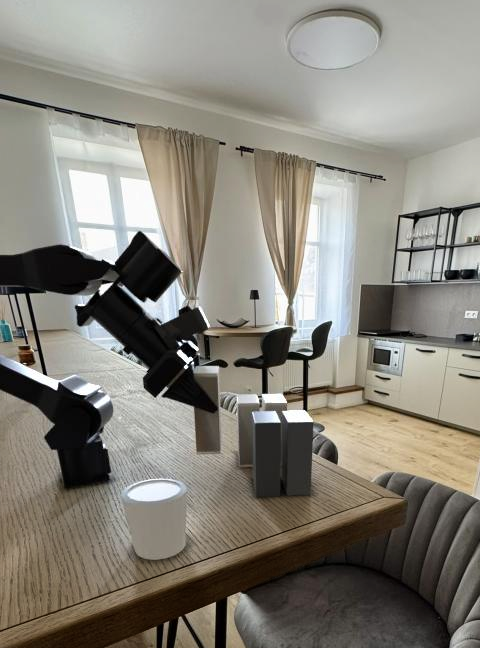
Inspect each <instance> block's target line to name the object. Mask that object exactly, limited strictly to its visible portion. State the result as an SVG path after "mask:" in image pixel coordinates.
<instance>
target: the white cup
mask: <svg viewBox="0 0 480 648" xmlns="http://www.w3.org/2000/svg"><path fill="white" fill-rule="evenodd" d="M187 492H188V490H187V485H186V484H185V483H184V482H182V481H180V480H176V479H173V478H152V479H146V480H142V481H137V482H135V483H133V484H129V485H128V486H127V487H125V488H124V489H122V491H121V494H120V499H121V502H122V507H123V510H124V515H125V518H126V523H127V526H128V531H129V534H130V537H131V538H130V539H131V542H132V545H133V549H134V552H135V554H136V555H137V556H138V557H140V558H142V559H144V560H151V561H157V560H158V561H159V560H165V559H169V558H172V557H174V556H176V555H178V554H179V553H181V552H182V551H183V550H184V548H185V547H186V543H187V501H188V499H187V496H188V495H187V494H188V493H187Z"/></svg>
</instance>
